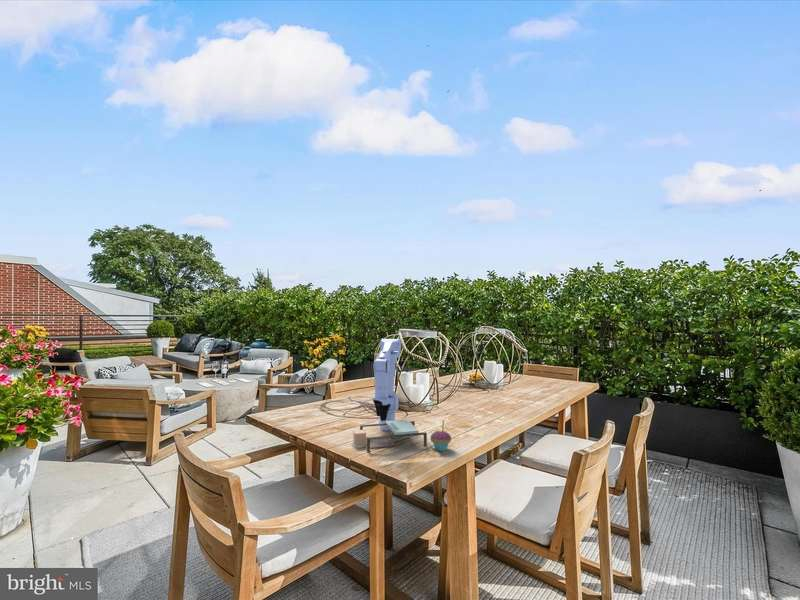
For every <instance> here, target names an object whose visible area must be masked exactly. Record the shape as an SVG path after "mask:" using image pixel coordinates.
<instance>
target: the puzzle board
mask: <svg viewBox="0 0 800 600" xmlns="http://www.w3.org/2000/svg"><path fill="white" fill-rule="evenodd" d="M408 421H409V422H410V423H411V424H412V425H413V426H414V427H416V426H415V420H408ZM382 425H387V424H386V423H381V424H379V423H370V424H360V425H359V430H364V428H366V427H367V428H368V427H377V426H382ZM427 434H428V433H427V432H425V431H424V432H419V433H413V434H402V435H395V434H391V435H389V434H388V435H380V436H378V435H376V436H366V445H363V446H355V445H354V443H353V442H352V443H351V444H350V446H351V447H353V448H364V447H366V452H371V450H374V449H375V450H376V449H385V448H386V449H387V448H394V447H395V446H396V445H395V443H394V442H393V440H392V439H391V438H399V437H400V438H401V437H412V436H413V437H414V436H423V446H424V447H427V446H428V445H427V444H428V443H427V442H428V440H427V439H428V437H427Z"/></svg>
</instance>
